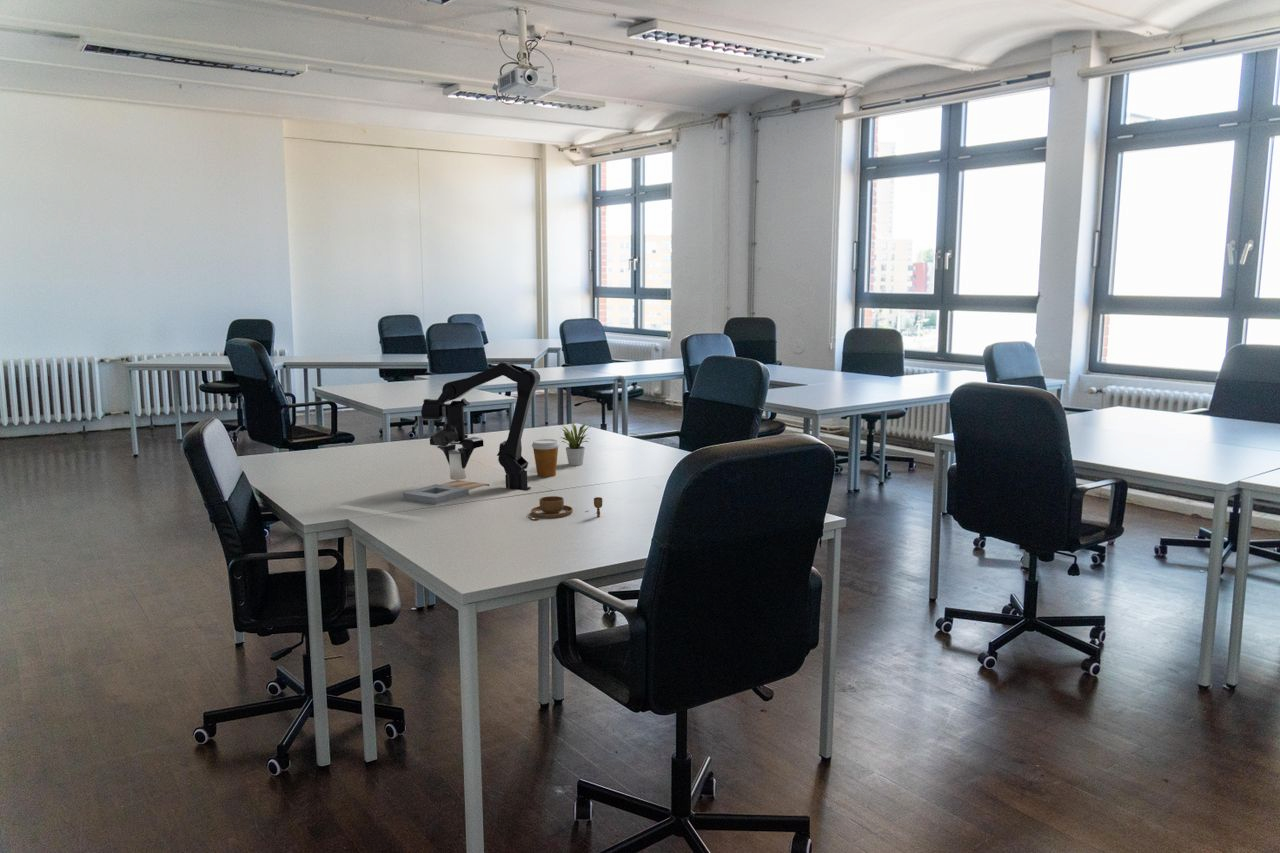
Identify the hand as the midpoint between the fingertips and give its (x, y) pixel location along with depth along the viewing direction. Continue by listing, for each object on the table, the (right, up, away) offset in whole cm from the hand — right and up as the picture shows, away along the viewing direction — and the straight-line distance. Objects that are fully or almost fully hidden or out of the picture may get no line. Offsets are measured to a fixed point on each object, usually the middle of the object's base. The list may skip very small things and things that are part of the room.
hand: (457, 467), depth 294 cm
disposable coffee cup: (+27, -4, +21) cm, 34 cm away
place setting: (+37, -13, -36) cm, 53 cm away
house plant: (+37, -1, +40) cm, 54 cm away
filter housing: (-4, -9, -14) cm, 17 cm away
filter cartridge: (0, -3, +1) cm, 4 cm away
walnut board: (0, -7, +1) cm, 7 cm away
